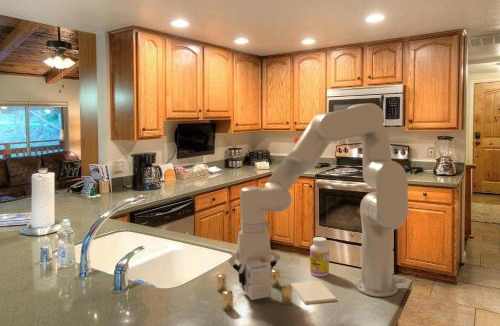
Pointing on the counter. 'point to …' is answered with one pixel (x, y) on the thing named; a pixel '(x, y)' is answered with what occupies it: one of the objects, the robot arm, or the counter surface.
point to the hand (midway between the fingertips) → (255, 282)
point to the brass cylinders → (275, 282)
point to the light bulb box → (257, 279)
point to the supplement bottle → (319, 257)
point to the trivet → (313, 292)
